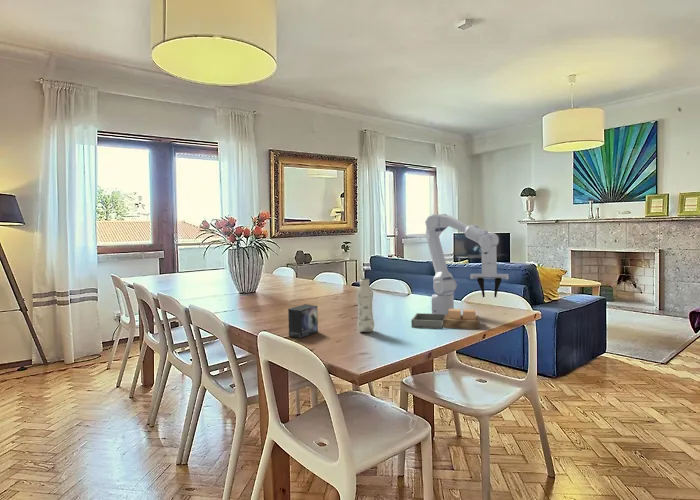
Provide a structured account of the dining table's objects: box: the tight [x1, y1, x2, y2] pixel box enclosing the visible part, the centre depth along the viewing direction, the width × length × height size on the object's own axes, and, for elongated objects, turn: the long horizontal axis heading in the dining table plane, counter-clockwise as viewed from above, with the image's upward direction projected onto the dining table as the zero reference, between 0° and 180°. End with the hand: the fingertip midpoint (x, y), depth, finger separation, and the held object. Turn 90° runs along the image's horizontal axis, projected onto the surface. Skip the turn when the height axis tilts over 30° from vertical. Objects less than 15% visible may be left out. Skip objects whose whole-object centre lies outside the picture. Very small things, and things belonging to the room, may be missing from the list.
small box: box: [287, 303, 319, 339], centre depth 164 cm, size 11×6×10 cm, turn 148°
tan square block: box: [448, 308, 462, 319], centre depth 171 cm, size 4×4×3 cm
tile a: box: [462, 308, 477, 319], centre depth 169 cm, size 4×4×3 cm
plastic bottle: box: [356, 278, 375, 333], centre depth 164 cm, size 6×7×20 cm
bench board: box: [442, 314, 480, 330], centre depth 170 cm, size 13×10×3 cm
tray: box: [411, 312, 445, 329], centre depth 174 cm, size 12×13×3 cm
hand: (489, 296), depth 175 cm, fingers open, 4 cm apart
